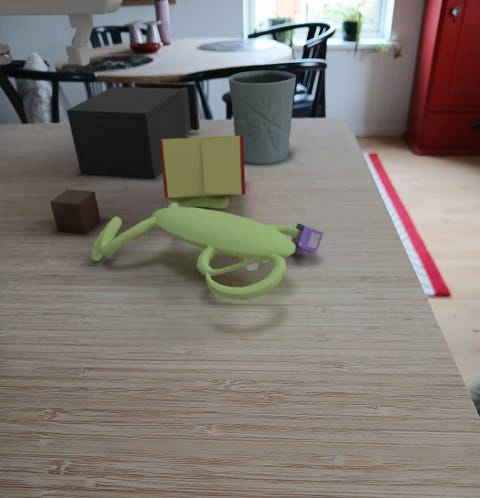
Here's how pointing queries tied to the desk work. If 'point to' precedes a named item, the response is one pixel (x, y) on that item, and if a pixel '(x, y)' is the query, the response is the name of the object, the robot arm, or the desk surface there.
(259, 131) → the grey green embossed cup
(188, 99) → the basket
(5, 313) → the desk surface
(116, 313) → the desk surface
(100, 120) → the dark grey box
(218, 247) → the figurine
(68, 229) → the block
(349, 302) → the desk surface
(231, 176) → the baking soda box
